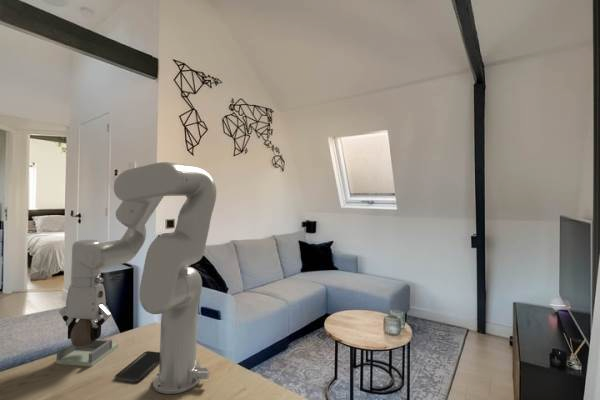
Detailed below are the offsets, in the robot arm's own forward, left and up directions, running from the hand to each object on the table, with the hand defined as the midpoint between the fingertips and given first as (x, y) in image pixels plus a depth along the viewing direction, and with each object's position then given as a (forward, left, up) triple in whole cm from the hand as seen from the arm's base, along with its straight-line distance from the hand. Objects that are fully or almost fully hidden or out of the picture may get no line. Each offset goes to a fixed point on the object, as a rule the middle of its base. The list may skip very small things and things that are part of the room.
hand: (84, 337), depth 97 cm
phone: (-20, +2, -7) cm, 21 cm away
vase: (0, 0, -2) cm, 2 cm away
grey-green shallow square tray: (0, -2, -6) cm, 7 cm away
